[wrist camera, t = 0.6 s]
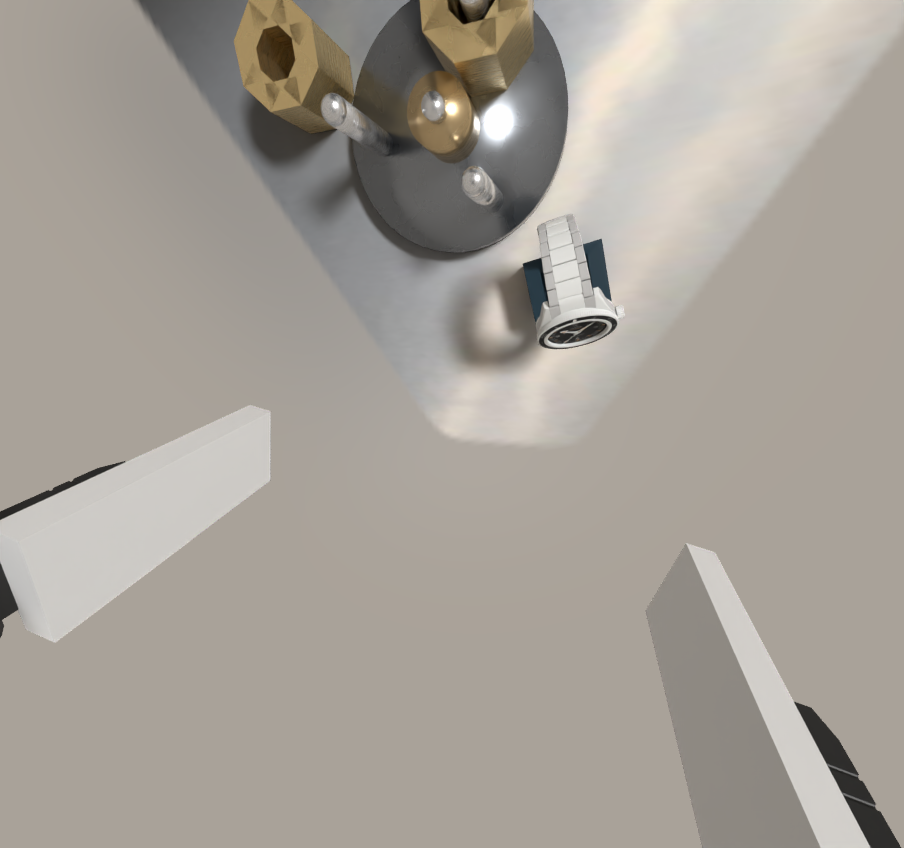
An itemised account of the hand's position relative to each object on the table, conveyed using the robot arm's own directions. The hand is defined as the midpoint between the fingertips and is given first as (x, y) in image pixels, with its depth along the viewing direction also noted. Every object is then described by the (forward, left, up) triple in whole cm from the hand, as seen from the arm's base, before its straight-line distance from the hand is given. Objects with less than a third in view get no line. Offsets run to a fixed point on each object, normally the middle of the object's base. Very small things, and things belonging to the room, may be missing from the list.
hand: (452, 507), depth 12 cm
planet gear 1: (-22, -16, -25) cm, 36 cm away
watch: (-6, +4, -25) cm, 26 cm away
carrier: (-17, -5, -25) cm, 30 cm away
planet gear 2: (-21, -2, -23) cm, 31 cm away
